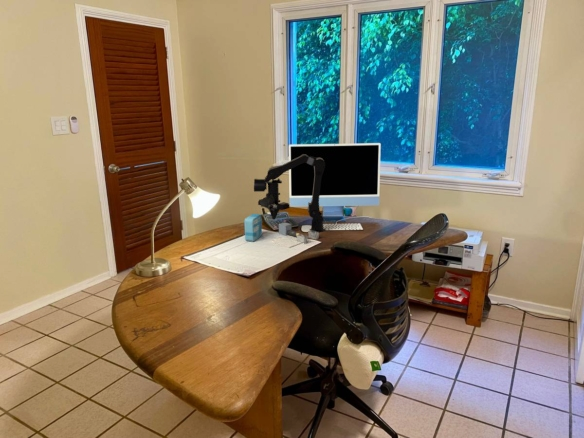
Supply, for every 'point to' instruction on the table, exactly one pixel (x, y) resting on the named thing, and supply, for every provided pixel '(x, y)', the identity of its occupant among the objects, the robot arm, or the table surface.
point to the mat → (285, 242)
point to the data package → (253, 227)
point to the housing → (311, 234)
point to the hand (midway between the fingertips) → (273, 219)
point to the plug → (287, 230)
